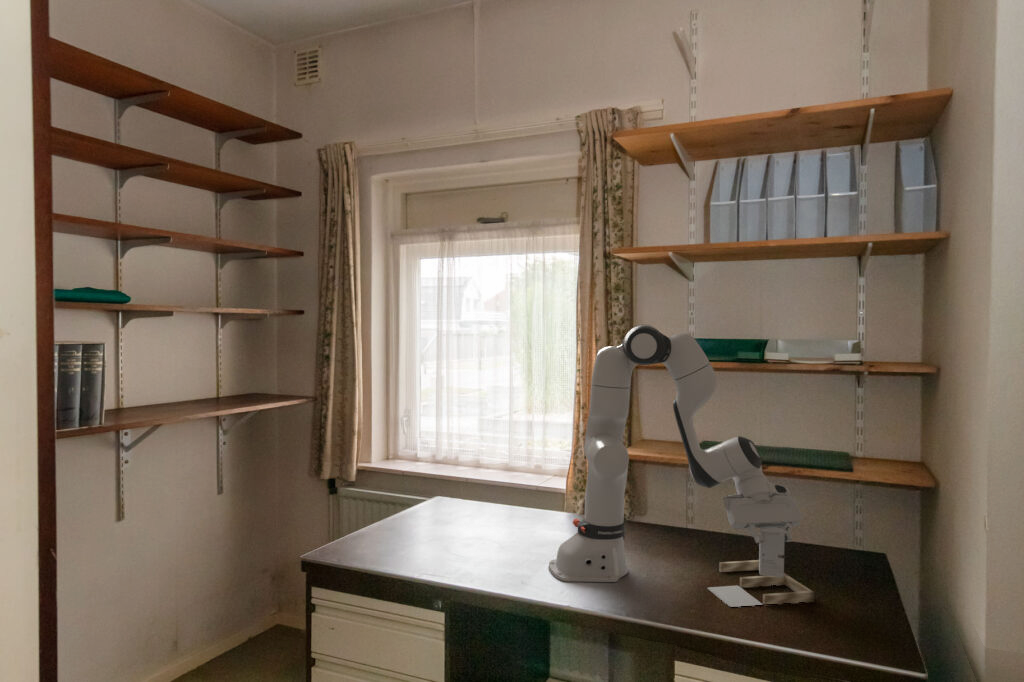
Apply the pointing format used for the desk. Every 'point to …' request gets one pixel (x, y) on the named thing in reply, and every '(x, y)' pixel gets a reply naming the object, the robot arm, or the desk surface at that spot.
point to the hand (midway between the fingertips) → (774, 541)
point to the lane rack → (769, 583)
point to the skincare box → (772, 551)
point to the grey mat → (734, 596)
